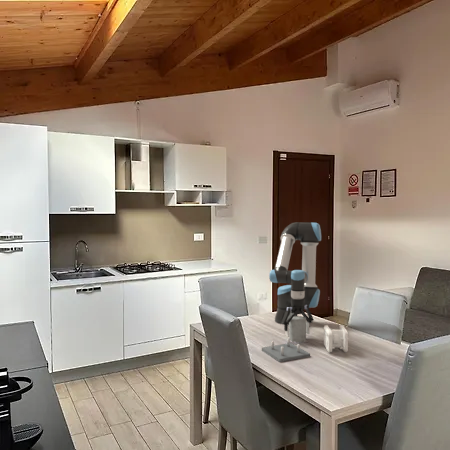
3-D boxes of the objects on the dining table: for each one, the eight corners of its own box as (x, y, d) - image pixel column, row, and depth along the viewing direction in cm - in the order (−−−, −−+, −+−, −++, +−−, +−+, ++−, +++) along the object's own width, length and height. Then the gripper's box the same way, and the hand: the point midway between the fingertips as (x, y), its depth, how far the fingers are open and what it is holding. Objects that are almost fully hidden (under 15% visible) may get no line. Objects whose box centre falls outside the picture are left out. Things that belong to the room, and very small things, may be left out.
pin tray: (261, 350, 228) (261, 340, 228) (290, 345, 235) (290, 335, 235) (279, 362, 212) (279, 351, 211) (310, 356, 219) (310, 345, 219)
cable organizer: (348, 354, 221) (348, 332, 220) (327, 354, 222) (327, 332, 221) (342, 345, 236) (342, 324, 235) (322, 344, 237) (322, 323, 236)
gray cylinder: (307, 342, 240) (307, 320, 240) (290, 342, 241) (290, 320, 240) (304, 336, 250) (304, 315, 249) (288, 336, 250) (288, 315, 249)
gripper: (282, 301, 235) (282, 339, 236) (320, 297, 246) (319, 334, 247) (275, 298, 242) (275, 335, 243) (312, 294, 252) (311, 330, 253)
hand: (297, 335), depth 245 cm, fingers open, 13 cm apart
